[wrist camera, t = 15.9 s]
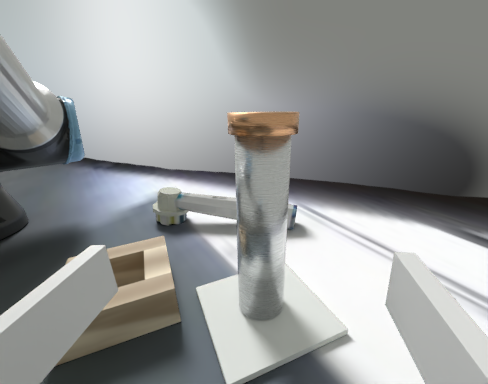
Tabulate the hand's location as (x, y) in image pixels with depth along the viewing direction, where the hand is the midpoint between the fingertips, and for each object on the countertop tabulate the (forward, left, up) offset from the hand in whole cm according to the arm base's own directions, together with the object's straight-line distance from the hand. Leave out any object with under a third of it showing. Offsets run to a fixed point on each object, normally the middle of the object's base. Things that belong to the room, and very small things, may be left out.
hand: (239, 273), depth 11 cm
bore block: (-16, -8, -12) cm, 22 cm away
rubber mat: (-8, +5, -12) cm, 16 cm away
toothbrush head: (-29, +7, -13) cm, 32 cm away
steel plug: (-9, +5, -11) cm, 15 cm away
